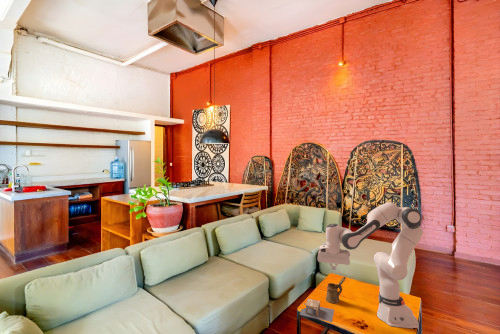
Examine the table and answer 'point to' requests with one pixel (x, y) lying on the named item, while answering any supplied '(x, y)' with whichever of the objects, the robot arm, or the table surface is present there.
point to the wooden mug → (334, 291)
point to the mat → (319, 313)
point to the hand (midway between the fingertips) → (333, 269)
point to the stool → (313, 305)
